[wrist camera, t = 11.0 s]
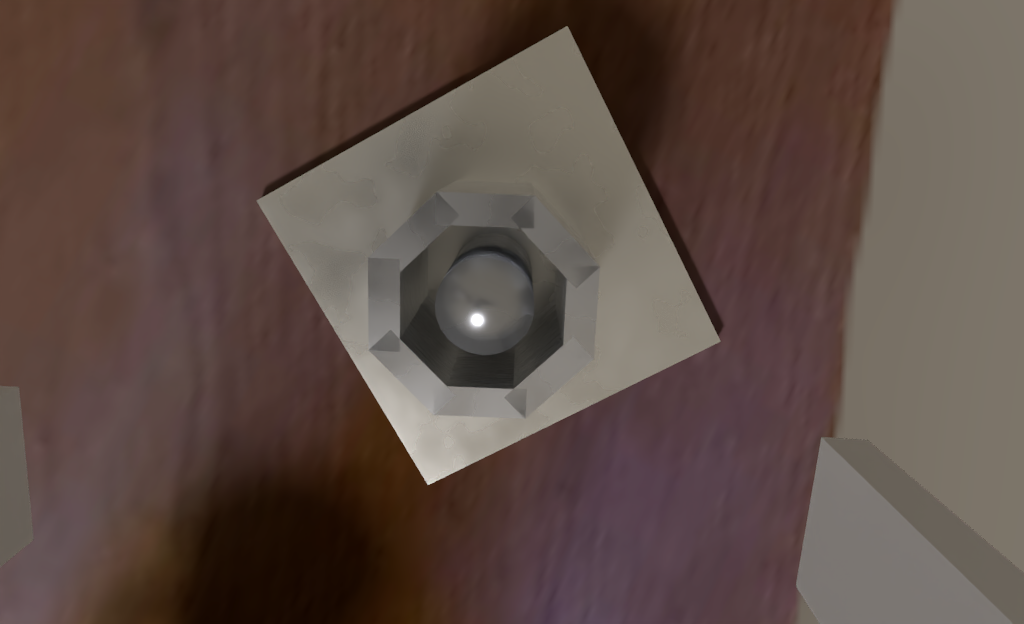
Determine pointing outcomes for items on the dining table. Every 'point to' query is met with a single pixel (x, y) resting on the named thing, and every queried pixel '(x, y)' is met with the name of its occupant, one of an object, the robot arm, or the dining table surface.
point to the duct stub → (497, 243)
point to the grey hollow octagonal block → (442, 365)
